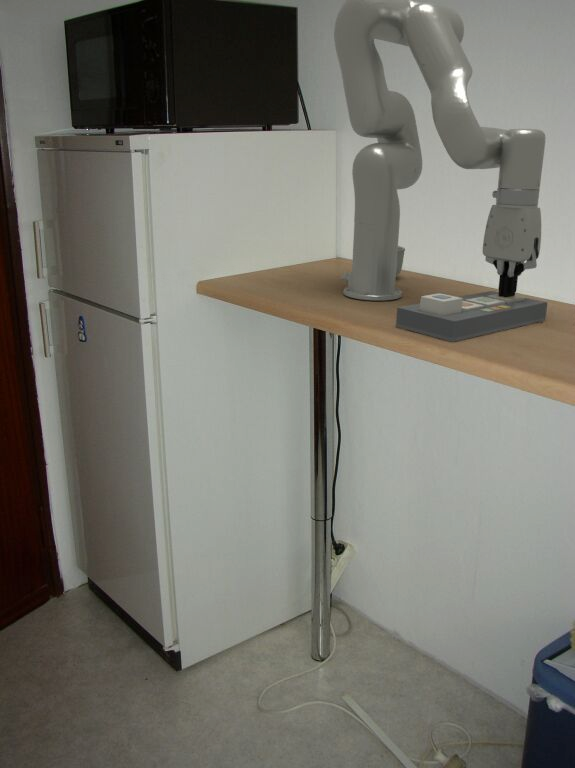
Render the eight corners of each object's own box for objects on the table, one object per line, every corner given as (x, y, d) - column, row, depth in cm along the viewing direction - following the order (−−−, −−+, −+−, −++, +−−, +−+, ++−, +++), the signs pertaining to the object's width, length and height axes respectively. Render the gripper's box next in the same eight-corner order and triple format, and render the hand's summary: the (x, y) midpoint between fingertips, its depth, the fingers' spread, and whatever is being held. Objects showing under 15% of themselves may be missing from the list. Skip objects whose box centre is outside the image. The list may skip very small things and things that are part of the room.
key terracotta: (441, 319, 141) (443, 302, 140) (459, 316, 144) (461, 299, 143) (464, 325, 137) (466, 308, 136) (482, 321, 140) (484, 304, 139)
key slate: (419, 312, 136) (420, 295, 135) (438, 309, 140) (439, 292, 139) (442, 318, 133) (444, 300, 132) (461, 314, 136) (462, 297, 135)
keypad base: (395, 326, 139) (397, 306, 138) (489, 308, 156) (491, 289, 155) (452, 342, 130) (454, 320, 129) (545, 320, 147) (547, 301, 146)
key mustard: (484, 310, 149) (486, 295, 148) (500, 307, 152) (502, 292, 151) (507, 315, 145) (509, 299, 144) (523, 312, 148) (525, 296, 147)
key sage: (464, 315, 145) (465, 298, 144) (480, 311, 148) (482, 295, 147) (486, 320, 141) (488, 303, 140) (503, 316, 144) (505, 300, 143)
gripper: (472, 196, 145) (463, 291, 151) (541, 202, 134) (529, 305, 140) (495, 195, 150) (486, 287, 155) (564, 201, 139) (551, 300, 144)
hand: (506, 295), depth 148 cm, fingers closed
